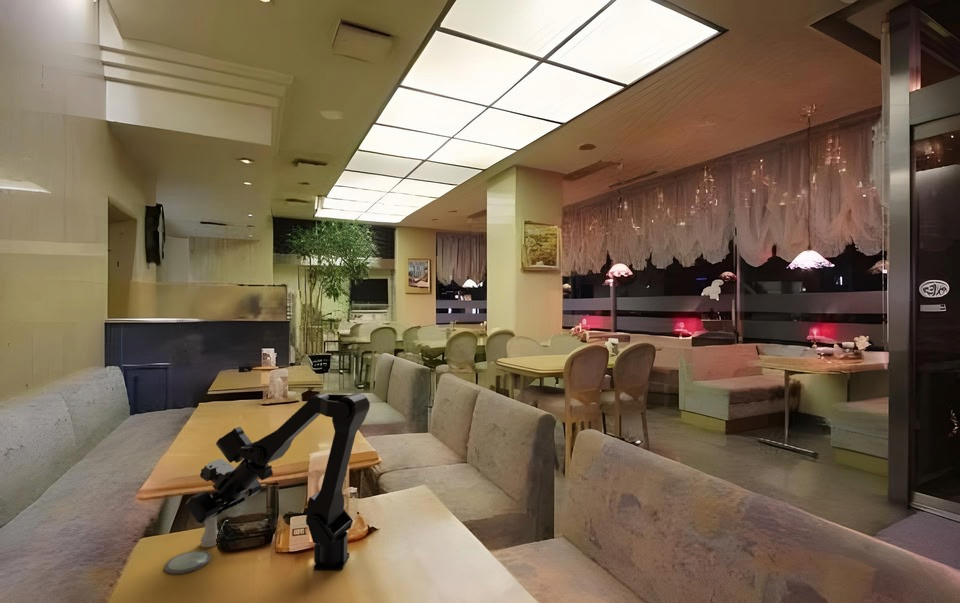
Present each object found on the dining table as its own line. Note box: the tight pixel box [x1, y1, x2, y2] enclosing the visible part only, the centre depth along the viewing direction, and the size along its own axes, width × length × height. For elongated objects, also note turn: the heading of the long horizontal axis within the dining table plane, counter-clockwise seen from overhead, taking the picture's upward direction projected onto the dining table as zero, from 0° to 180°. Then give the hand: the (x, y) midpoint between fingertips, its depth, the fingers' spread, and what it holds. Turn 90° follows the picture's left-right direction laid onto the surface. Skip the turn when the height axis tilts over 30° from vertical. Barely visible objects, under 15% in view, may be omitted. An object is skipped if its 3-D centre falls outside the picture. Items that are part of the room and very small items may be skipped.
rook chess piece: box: [199, 515, 219, 548], centre depth 114 cm, size 4×4×8 cm
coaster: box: [164, 550, 212, 576], centre depth 105 cm, size 9×9×1 cm
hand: (206, 516), depth 115 cm, fingers closed on rook chess piece, 3 cm apart
